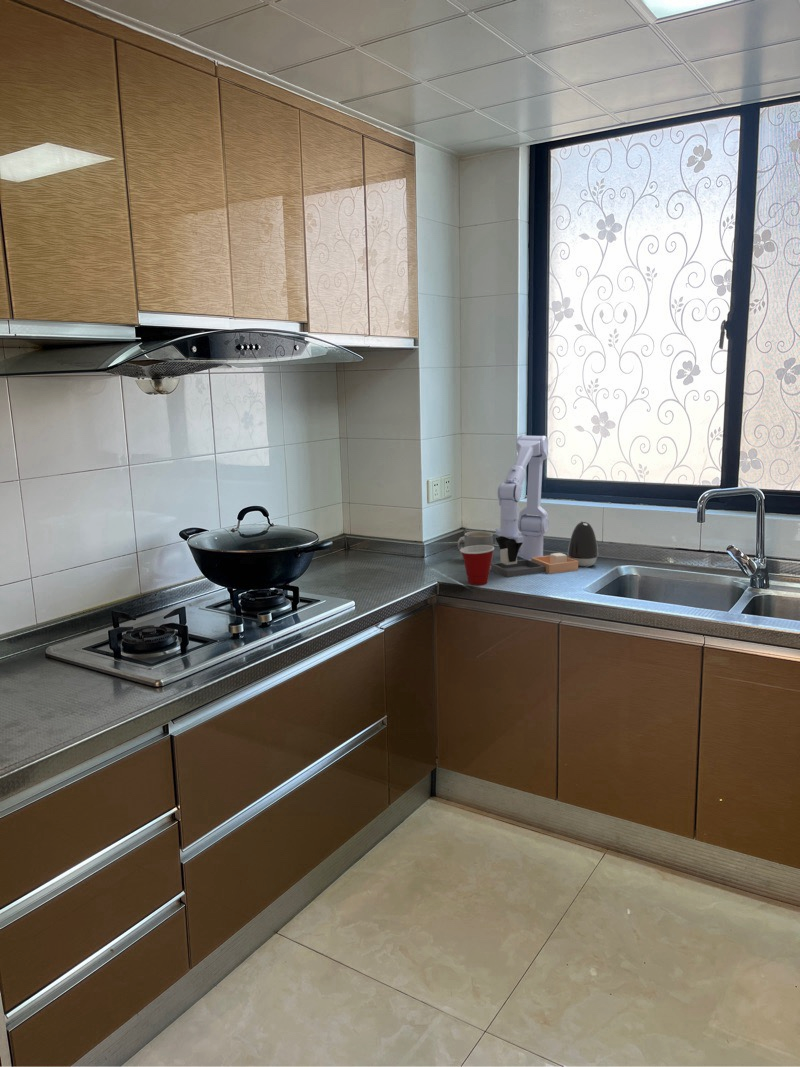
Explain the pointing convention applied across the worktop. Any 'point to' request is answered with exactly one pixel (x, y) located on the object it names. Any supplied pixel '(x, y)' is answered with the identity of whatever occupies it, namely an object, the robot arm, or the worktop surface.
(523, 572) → the parts tray
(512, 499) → the robot arm
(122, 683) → the worktop surface
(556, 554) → the stone
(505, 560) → the stone
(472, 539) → the coffee mug
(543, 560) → the terracotta dish
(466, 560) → the plastic cup
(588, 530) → the dark grey rounded dome
